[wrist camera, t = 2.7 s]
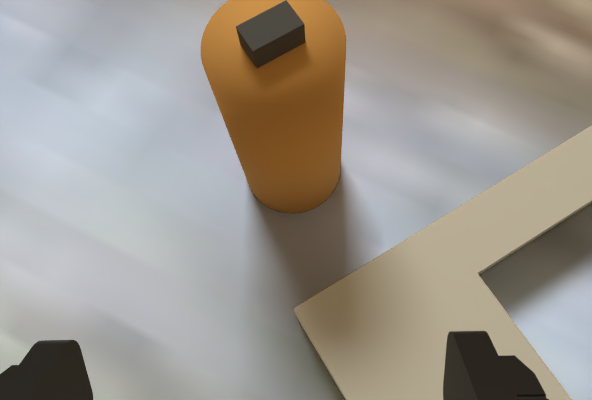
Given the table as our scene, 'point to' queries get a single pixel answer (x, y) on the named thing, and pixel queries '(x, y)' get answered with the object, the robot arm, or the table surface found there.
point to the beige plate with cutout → (444, 286)
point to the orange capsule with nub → (280, 95)
